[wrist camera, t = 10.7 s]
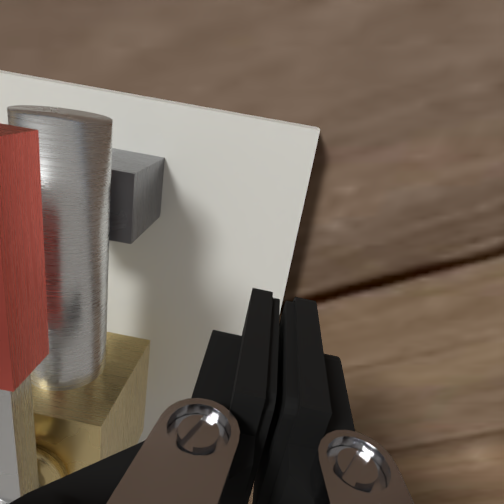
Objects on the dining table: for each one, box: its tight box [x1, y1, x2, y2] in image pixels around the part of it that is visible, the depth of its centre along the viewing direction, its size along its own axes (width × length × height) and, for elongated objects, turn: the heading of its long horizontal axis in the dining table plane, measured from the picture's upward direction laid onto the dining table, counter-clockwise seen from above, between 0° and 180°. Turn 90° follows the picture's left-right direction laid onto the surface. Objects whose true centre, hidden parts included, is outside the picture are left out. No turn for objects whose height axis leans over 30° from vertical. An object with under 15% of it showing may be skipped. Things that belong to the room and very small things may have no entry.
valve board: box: [0, 70, 320, 444], centre depth 25 cm, size 28×18×2 cm, turn 171°
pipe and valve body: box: [7, 105, 165, 486], centre depth 20 cm, size 27×6×9 cm, turn 171°
